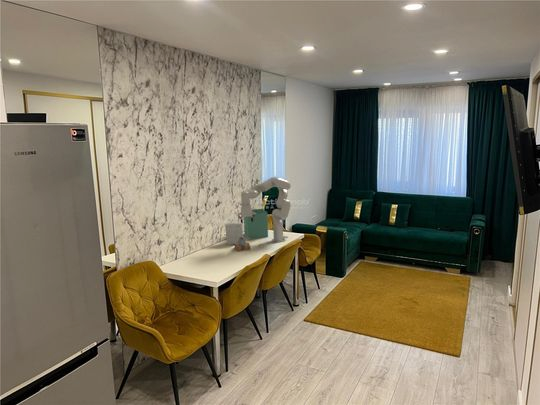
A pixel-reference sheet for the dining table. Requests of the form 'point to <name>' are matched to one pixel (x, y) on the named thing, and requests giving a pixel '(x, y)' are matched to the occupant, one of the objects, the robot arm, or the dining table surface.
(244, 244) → the block
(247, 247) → the tray
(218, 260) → the dining table surface
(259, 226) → the box
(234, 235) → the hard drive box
